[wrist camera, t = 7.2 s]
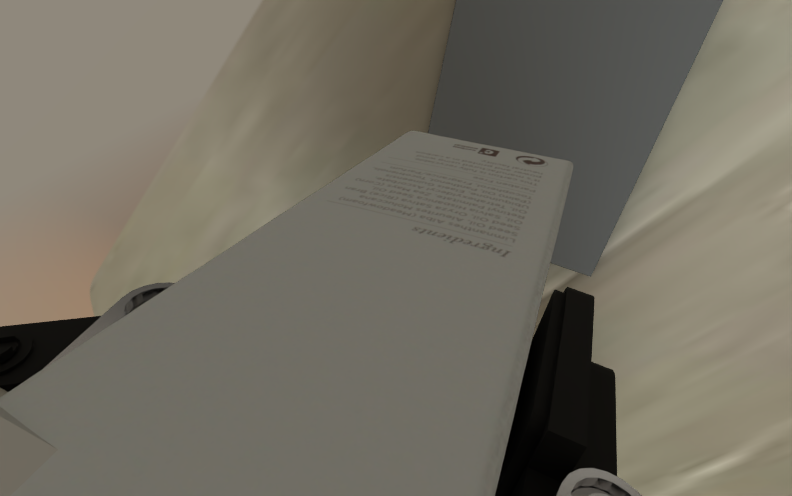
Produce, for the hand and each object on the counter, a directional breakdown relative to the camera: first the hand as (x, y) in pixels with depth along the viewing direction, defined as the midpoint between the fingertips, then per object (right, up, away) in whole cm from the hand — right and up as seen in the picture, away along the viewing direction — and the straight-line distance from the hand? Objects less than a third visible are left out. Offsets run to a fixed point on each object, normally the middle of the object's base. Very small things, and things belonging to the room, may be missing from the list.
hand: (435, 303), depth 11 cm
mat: (+7, +8, +16) cm, 19 cm away
